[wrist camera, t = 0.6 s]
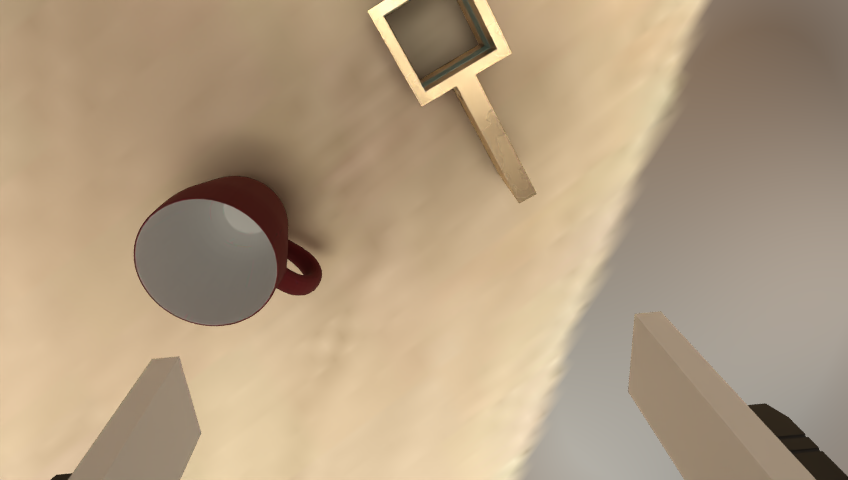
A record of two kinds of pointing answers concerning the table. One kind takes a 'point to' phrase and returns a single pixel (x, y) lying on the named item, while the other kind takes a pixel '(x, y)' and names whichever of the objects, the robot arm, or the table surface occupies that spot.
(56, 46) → the table surface
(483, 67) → the square hinge knuckle
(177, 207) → the mug
